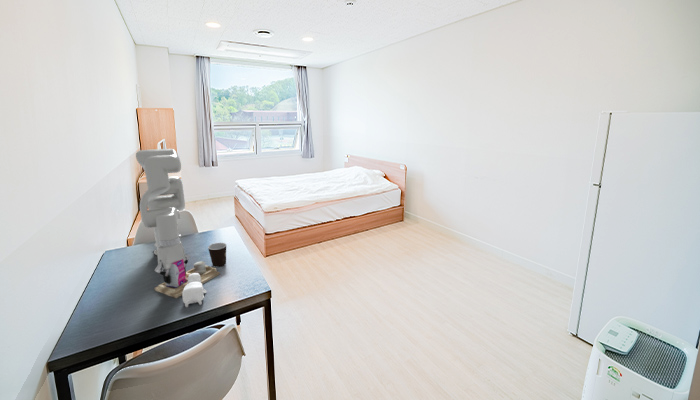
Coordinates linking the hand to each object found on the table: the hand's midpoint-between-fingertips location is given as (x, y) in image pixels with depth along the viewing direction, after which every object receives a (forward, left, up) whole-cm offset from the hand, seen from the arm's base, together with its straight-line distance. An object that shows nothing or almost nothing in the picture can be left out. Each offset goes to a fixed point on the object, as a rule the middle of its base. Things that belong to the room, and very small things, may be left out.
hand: (175, 278), depth 139 cm
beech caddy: (0, +6, -5) cm, 7 cm away
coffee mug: (-2, +26, -5) cm, 27 cm away
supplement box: (0, 0, -3) cm, 3 cm away
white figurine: (+14, -2, -5) cm, 14 cm away
